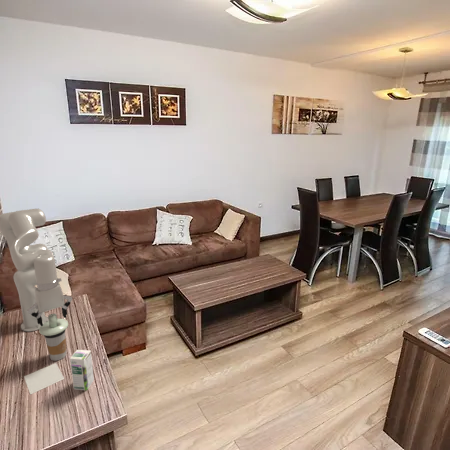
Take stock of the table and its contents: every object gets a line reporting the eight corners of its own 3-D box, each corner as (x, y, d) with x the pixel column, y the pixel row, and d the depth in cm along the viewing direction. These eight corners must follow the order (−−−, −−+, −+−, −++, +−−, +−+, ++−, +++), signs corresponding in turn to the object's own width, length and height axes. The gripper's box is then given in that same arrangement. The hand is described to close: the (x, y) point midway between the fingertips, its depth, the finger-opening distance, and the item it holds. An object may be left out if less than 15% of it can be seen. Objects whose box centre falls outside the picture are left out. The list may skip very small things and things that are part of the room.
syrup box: (73, 390, 118) (68, 358, 114) (81, 378, 124) (77, 348, 120) (87, 391, 118) (83, 360, 114) (94, 379, 124) (91, 349, 120)
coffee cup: (60, 364, 131) (55, 335, 127) (43, 361, 133) (38, 332, 129) (73, 352, 139) (69, 323, 135) (57, 349, 140) (52, 321, 136)
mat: (23, 377, 124) (23, 376, 124) (56, 363, 132) (56, 362, 132) (30, 395, 115) (30, 394, 115) (64, 379, 123) (64, 378, 123)
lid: (36, 326, 132) (34, 314, 130) (64, 317, 139) (62, 306, 138) (43, 339, 124) (41, 326, 123) (71, 328, 131) (70, 316, 130)
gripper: (67, 275, 134) (71, 309, 139) (21, 287, 123) (27, 324, 128) (72, 281, 129) (77, 316, 134) (25, 294, 118) (31, 332, 122)
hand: (53, 320), depth 131 cm, fingers open, 8 cm apart
